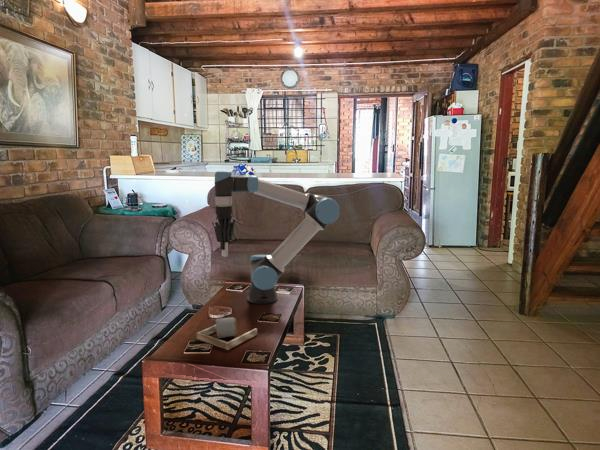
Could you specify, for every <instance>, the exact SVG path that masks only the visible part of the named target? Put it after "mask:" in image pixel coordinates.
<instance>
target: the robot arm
mask: <svg viewBox="0 0 600 450" xmlns="http://www.w3.org/2000/svg"><path fill="white" fill-rule="evenodd" d="M233 193H250V194H255V195H258V196H261V197H264V198H267V199H269V200H274V201H277V202H280V203H282V204H286V205H289V206H292V207H295V208H299V209H301V211H302V212H305V218H303V220H302V221H301V222H300V223H299V224H298V226H297V227H295V228H294V230H293V231H292V232H291V233H289V235H288V236H287V237H286V238H285V239H284V240H283V241H282V242H281V243H280V244H279V245H278V247H276V249H275V250H274V251H273V252H272V253H270V254H254V255H251V256H250V260H249V262H250V286H249V290H248V294H247V301H248V302H249V303H252V304H257V305H267V304H272V303H274V302H276V301H278V293H277V290H276V288H275V287H276V285H277V283H278V279H279V278H280V277H282V275H283V274H284V273H285V267H286V265H288V264H289V262H290V261H291V260H293V258H294V257H295V256H297V254H298V253H299V252H300V251H301V250H302V249H303V248H304V246H306V244H307V243H309V242H310V240H311V239H312V238H313V237H314V236H315V235H316V234H317V233H318V232H319V231H324V230H325V229H326V228H327V227H328V225H331V224H333V223H334V222H336V221H337V220H339V219H338V218H339V216H340V213H341V210H340V206H339V203H338V202H337V201H336V200H335V199H333V198H332V197H329V196H326V195H319V194H314V193H311V192H307V193H303V192H301V191H297V190H296V189H295V190H294V189H291V188H288V187H285V186H282V185H279V184H276V183H272V182H270V181H266V180H264V179H260V178H259V177H258V176H257V175H249V174H245V173H243V174H241V175H233V174H232V172H231V171H228V170H227V171H223V170H222V171H218V170H217V171H216V172H215V173H214V196H215V197H214V201H215V202H214V203H215V214H216V218H215V221H212V223H211V224H212V226H213V228H214V232H215V238H216V242H217V243H220V250H221V257H224V258H227V257H229V249H230V247H229V246H230V243H231V241H232V240H233V235H234V230H235V229H234V228H235V223H236V219H235V218H233V217H232V214H233Z"/></svg>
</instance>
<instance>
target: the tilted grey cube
mask: <svg viewBox="0 0 600 450" xmlns="http://www.w3.org/2000/svg"><path fill="white" fill-rule="evenodd" d="M215 325H216V330H217V331H216V338H217V339H224V338H229V337H233V336H236V335H237V334H238V326H237V319H236V318H235V317H231V316H230V317H222V318H221V317H219V318H216V319H215Z"/></svg>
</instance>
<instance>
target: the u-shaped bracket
mask: <svg viewBox="0 0 600 450" xmlns="http://www.w3.org/2000/svg"><path fill="white" fill-rule="evenodd" d="M214 333H217V330H216V324H213V325H211V326H209V327H207V328H205V329H203V330H200V331H198V332H196V339H197V340H199V341H201V342H204V343H206V344H210V345H212V346H215V347H219V348H221V349H224V350H227V351H229V350H231V349H232V348H235V347H236V346H238V345H240V344H242V343H244V342H245V341H248V340H249V339H252V338H254V337H255V336H257V335H258V328H253V329H251V330H249V331H247V332H245V333H243V334H241V335H239V336H237V337H235V338H234V339H231V340H229V341H226V340H223V339H221V338H219V339H217V337H213V336H211V335H212V334H214Z"/></svg>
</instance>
